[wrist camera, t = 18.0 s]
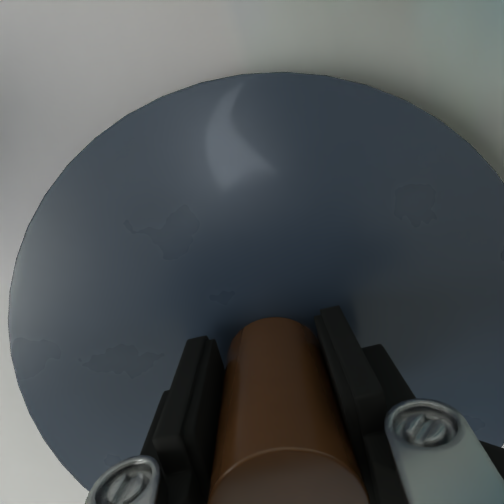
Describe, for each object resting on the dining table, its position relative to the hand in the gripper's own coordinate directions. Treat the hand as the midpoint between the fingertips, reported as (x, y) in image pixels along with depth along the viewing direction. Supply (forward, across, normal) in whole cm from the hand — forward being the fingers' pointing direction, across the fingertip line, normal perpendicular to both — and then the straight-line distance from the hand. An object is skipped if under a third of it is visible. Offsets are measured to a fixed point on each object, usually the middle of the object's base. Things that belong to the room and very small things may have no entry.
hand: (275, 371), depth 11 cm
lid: (+1, 0, 0) cm, 1 cm away
